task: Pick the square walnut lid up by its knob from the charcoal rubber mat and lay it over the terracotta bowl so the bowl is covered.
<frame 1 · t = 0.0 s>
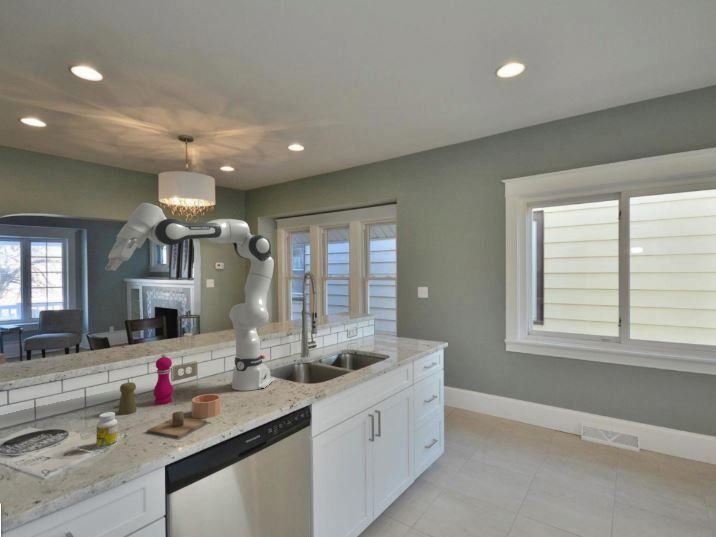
hand: (109, 270, 138), 54 cm above the worktop, tool tilted 30°, fingers open, 8 cm apart
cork: (127, 412, 142), on the worktop
lid: (177, 427, 127), resting on mat
pepper mill: (163, 402, 153), on the worktop
mat: (177, 428, 127), on the worktop
bowl: (206, 414, 141), on the worktop
supplement bottle: (106, 446, 115), on the worktop
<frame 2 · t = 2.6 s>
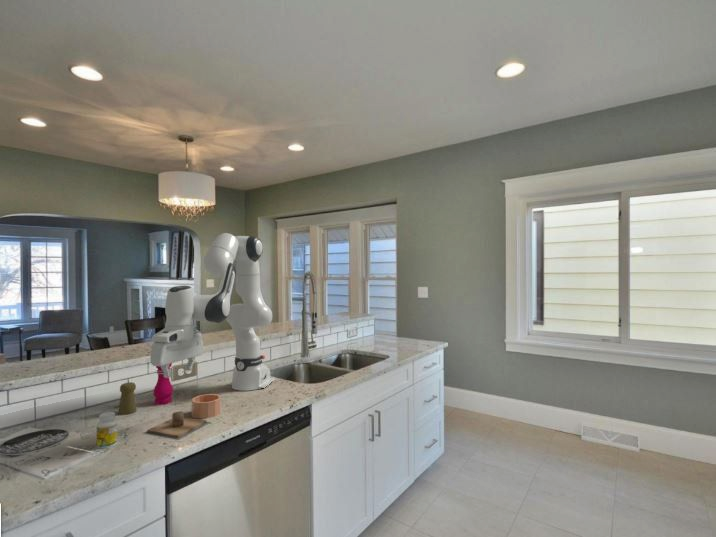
hand: (178, 373, 128), 19 cm above the worktop, tool pointing down, fingers open, 8 cm apart
nothing on the worktop moved.
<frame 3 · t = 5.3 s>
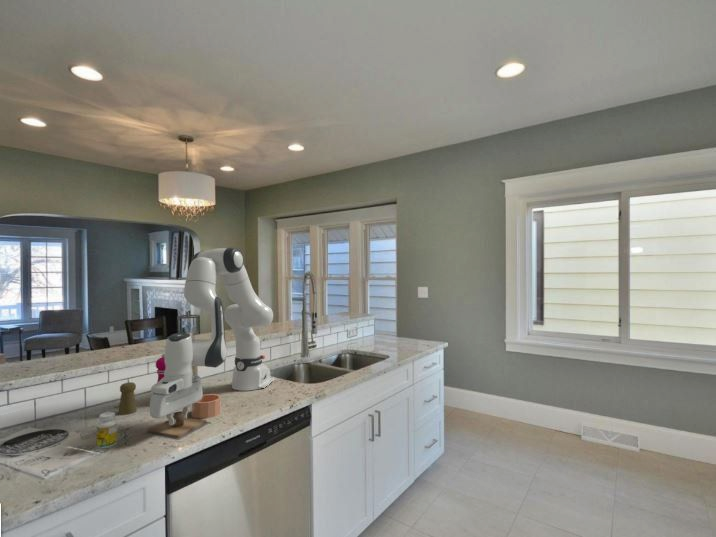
hand: (177, 421, 127), 2 cm above the worktop, tool pointing down, fingers closed on lid, 3 cm apart
lid: (177, 427, 127), resting on mat, touching gripper
everything else where it was.
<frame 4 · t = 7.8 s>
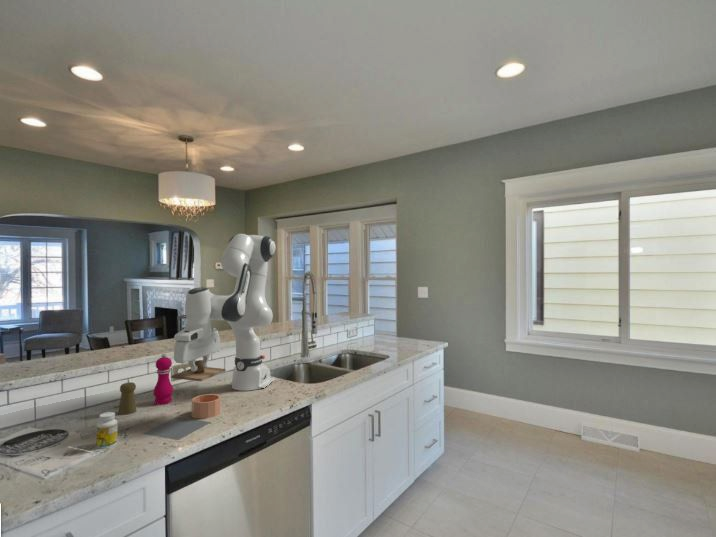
hand: (199, 369, 137), 18 cm above the worktop, tool pointing down, fingers closed on lid, 3 cm apart
lid: (199, 374, 137), point 16 cm above the worktop, touching gripper
everything else where it was.
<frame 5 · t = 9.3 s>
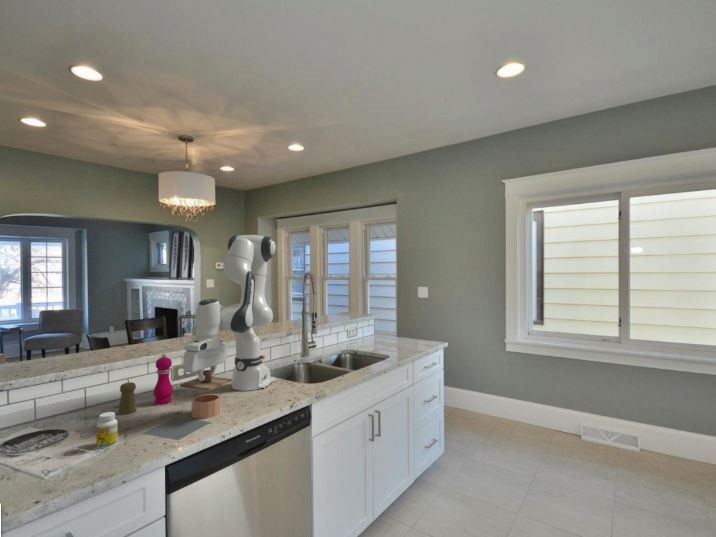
hand: (206, 378, 141), 13 cm above the worktop, tool pointing down, fingers closed on lid, 3 cm apart
lid: (206, 383, 141), point 12 cm above the worktop, touching gripper
everything else where it was.
when the fingers open (9 cm above the worktop, at t = 10.7 s): lid drops 1 cm, resting on bowl.
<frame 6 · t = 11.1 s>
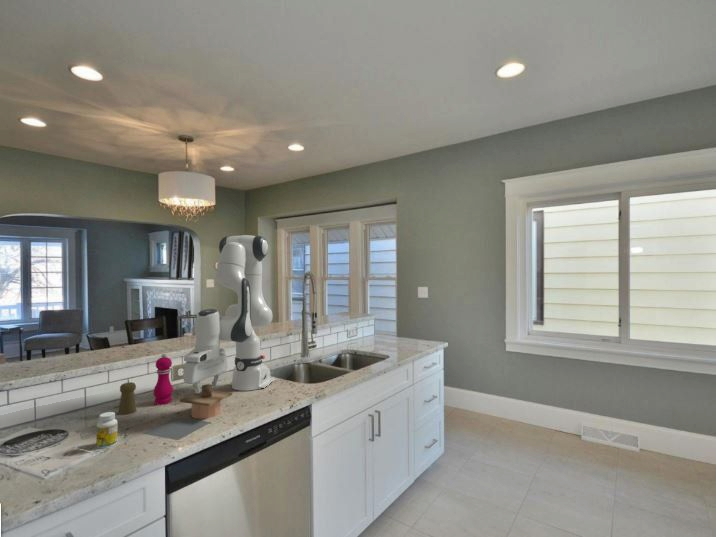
hand: (206, 389, 141), 9 cm above the worktop, tool pointing down, fingers open, 8 cm apart
lid: (206, 398, 141), point 6 cm above the worktop, touching bowl
bowl: (206, 414, 141), on the worktop, touching lid
everything else where it was.
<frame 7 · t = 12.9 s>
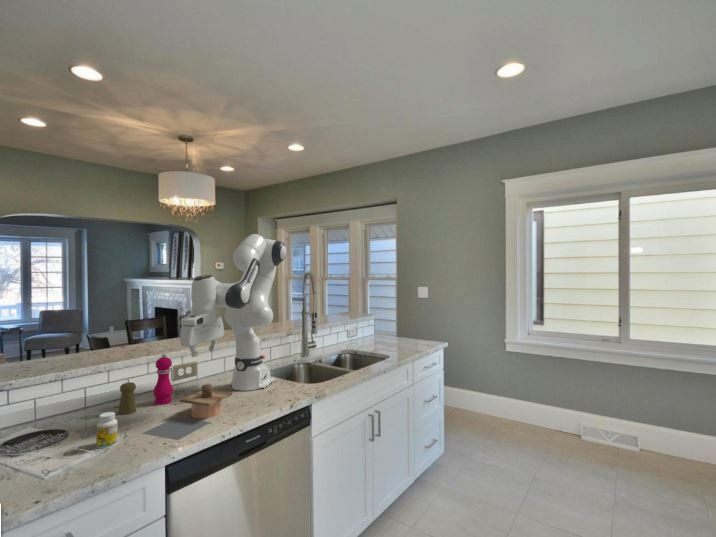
hand: (203, 353, 142), 23 cm above the worktop, tool pointing down, fingers open, 8 cm apart
nothing on the worktop moved.
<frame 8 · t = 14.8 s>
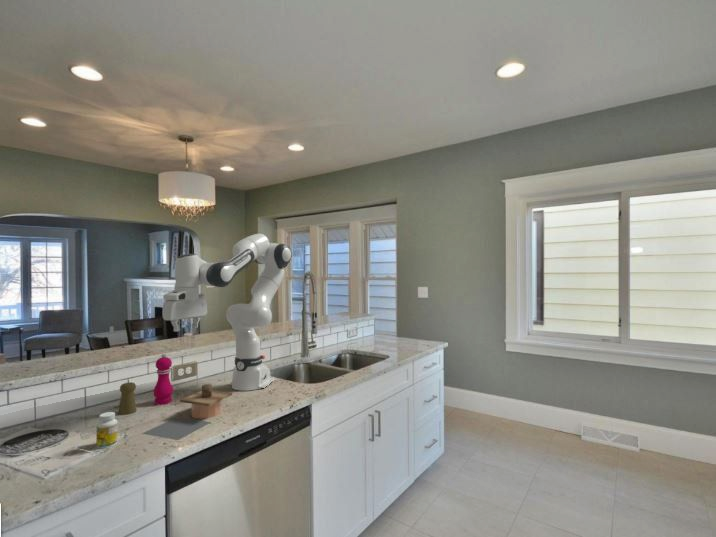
hand: (186, 329, 147), 31 cm above the worktop, tool pointing down, fingers open, 8 cm apart
nothing on the worktop moved.
at the end: lid 0.0 cm off-centre on the bowl, point 6.0 cm above the bowl's base; lid tilted 0°; the gripper is holding nothing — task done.
